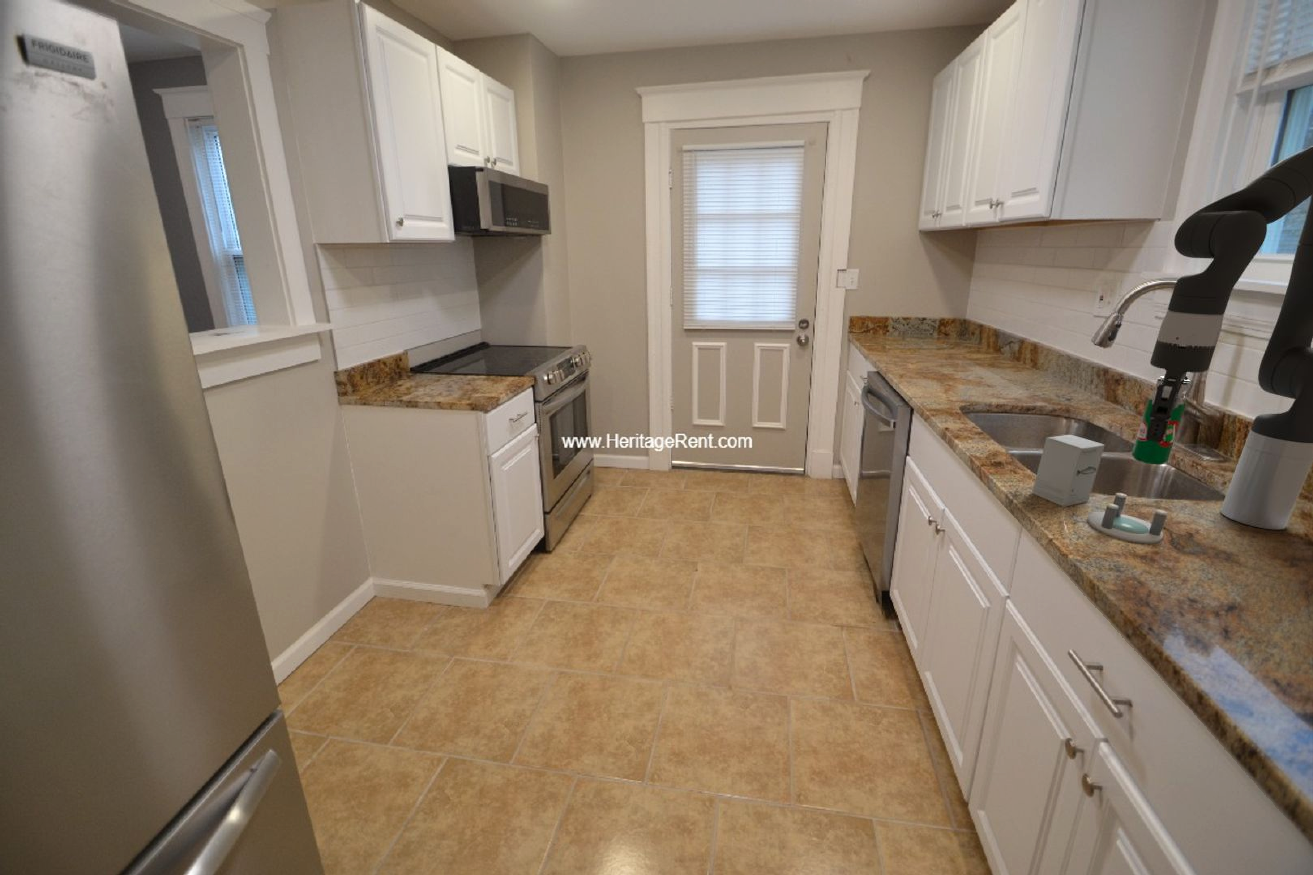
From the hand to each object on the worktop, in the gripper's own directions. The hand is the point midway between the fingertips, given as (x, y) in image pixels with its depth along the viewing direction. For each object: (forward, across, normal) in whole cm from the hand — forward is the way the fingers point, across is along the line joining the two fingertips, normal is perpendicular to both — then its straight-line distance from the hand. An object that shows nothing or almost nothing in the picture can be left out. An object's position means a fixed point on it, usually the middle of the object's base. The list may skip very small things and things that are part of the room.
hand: (1156, 437), depth 103 cm
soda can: (+5, 0, 0) cm, 5 cm away
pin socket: (+18, 0, 0) cm, 18 cm away
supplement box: (+18, -7, -12) cm, 23 cm away
